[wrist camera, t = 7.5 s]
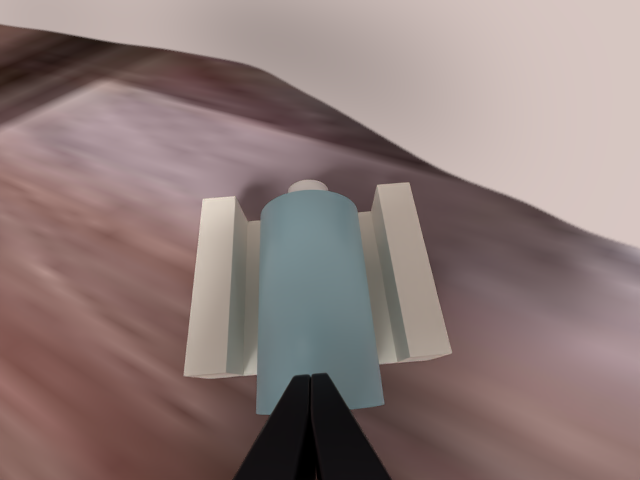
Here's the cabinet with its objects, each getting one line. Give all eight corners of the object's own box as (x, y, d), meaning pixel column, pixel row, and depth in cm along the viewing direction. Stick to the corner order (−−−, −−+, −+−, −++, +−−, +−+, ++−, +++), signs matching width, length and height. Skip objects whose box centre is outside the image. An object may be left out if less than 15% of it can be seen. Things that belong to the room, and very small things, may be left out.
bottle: (400, 405, 9) (361, 160, 13) (247, 418, 9) (255, 161, 13) (369, 401, 13) (347, 214, 18) (263, 409, 13) (265, 216, 17)
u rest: (429, 360, 14) (452, 353, 12) (211, 378, 14) (183, 375, 12) (397, 213, 18) (409, 182, 15) (222, 227, 18) (203, 198, 15)
